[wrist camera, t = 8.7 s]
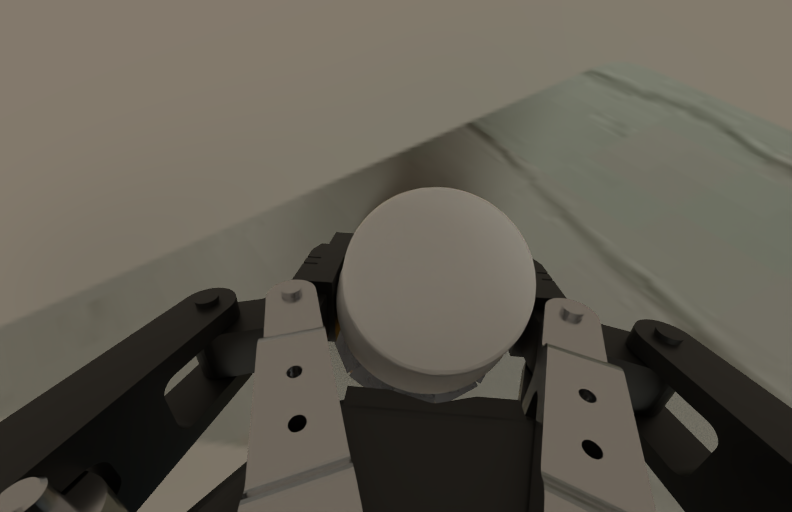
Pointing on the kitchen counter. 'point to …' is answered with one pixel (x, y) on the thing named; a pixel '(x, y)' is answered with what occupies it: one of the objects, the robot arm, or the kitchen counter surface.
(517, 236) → the supplement bottle
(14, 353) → the kitchen counter surface
